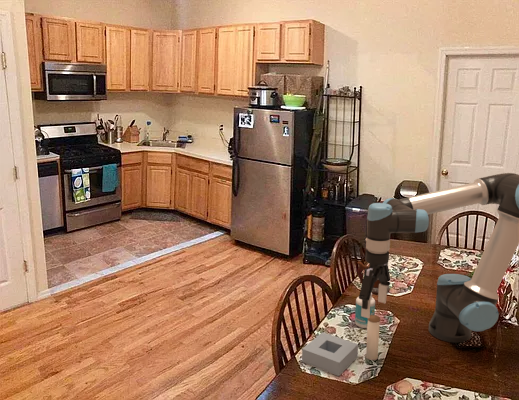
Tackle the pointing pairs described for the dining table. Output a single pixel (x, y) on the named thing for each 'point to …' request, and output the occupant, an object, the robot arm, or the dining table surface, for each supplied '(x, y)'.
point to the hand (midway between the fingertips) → (373, 309)
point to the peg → (372, 337)
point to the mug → (360, 275)
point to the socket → (330, 353)
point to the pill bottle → (359, 319)
